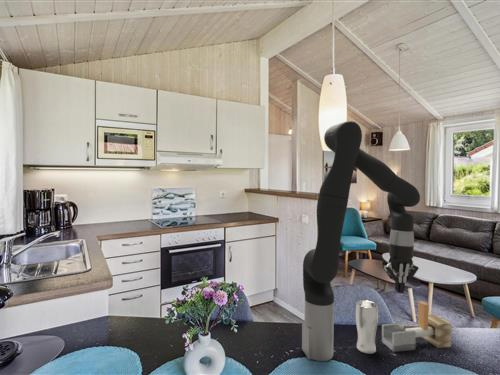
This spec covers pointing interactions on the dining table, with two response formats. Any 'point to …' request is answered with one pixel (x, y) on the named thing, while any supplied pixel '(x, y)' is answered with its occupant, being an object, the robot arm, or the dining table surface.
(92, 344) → the dining table surface
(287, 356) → the dining table surface
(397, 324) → the gray u-shaped block
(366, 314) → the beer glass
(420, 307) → the hammer
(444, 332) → the socket
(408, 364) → the dining table surface
